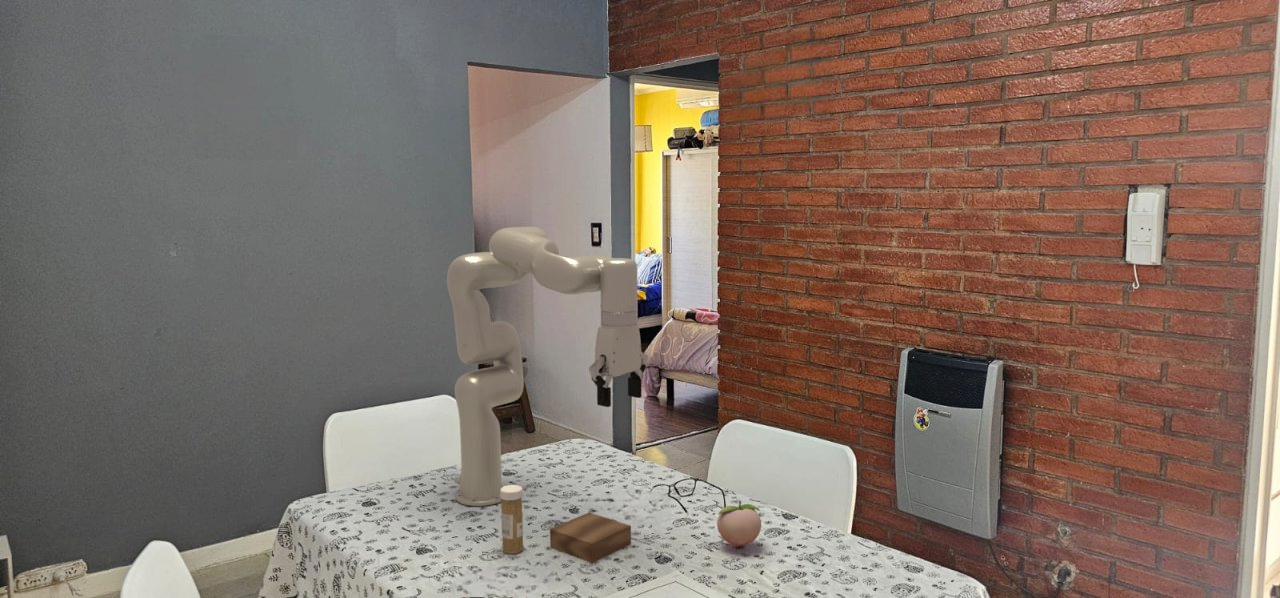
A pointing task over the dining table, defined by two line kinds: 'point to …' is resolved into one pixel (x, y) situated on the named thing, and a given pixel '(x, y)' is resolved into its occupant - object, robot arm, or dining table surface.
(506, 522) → the sprinkles bottle
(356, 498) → the dining table surface
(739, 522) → the decorative fruit
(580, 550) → the walnut stand
